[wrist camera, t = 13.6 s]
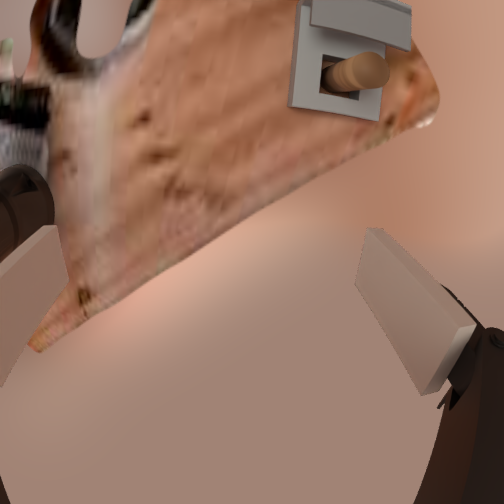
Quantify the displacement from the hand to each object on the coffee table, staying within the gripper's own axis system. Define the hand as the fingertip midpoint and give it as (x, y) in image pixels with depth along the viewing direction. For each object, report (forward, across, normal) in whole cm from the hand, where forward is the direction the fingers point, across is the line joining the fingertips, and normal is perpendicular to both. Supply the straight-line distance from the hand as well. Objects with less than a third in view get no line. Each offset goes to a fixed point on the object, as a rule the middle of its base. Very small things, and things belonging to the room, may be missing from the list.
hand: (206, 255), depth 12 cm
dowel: (+32, +15, +11) cm, 37 cm away
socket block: (+32, +15, +14) cm, 38 cm away
